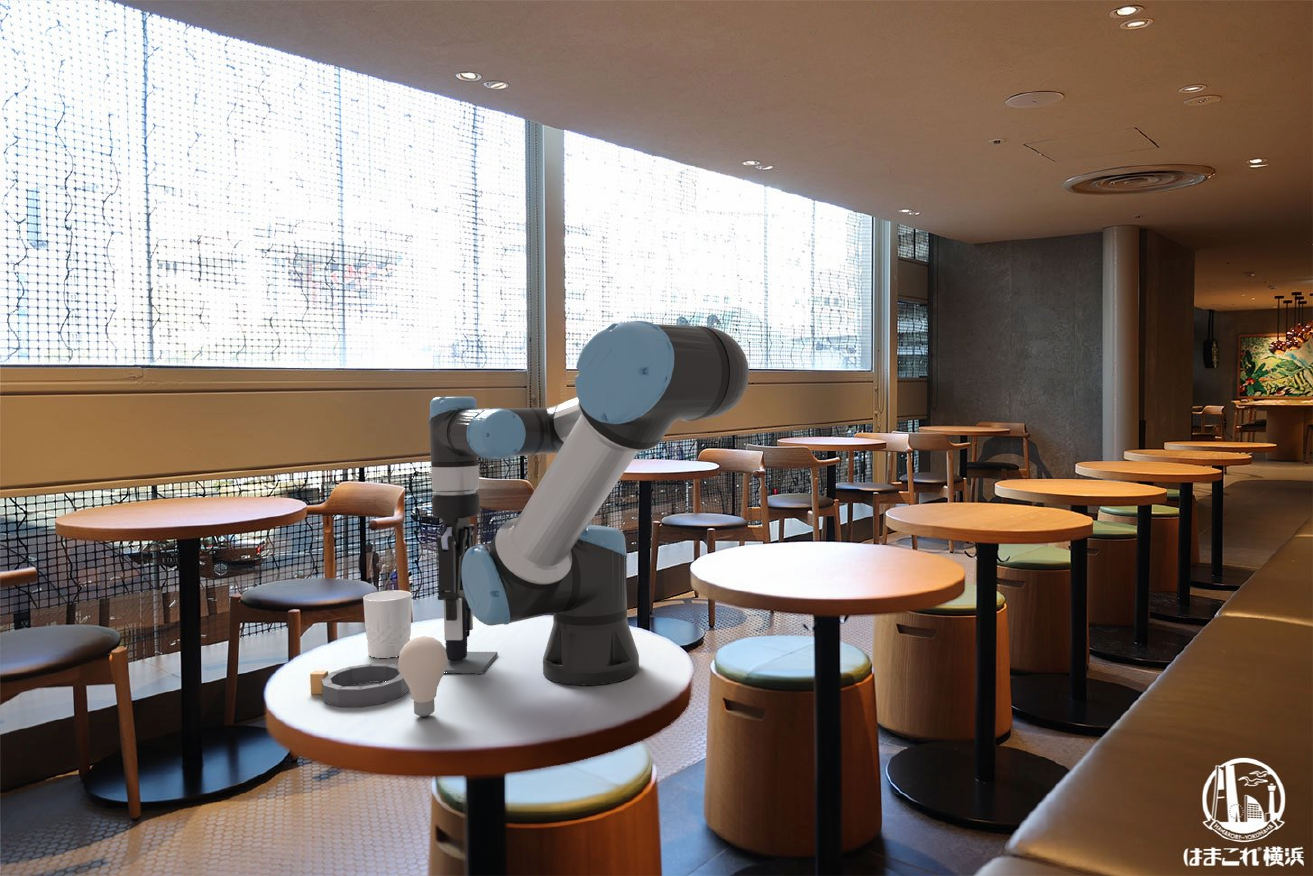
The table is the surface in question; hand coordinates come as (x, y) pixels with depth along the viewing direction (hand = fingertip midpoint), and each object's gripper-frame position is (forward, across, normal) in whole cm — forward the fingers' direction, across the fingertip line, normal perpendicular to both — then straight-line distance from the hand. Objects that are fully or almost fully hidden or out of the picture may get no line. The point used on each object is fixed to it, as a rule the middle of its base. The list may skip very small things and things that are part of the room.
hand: (459, 634), depth 142 cm
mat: (+5, 0, 0) cm, 5 cm away
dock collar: (+5, +14, -11) cm, 19 cm away
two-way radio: (+4, 0, 0) cm, 4 cm away
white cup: (+5, -6, -14) cm, 16 cm away
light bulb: (+5, +23, +2) cm, 24 cm away
